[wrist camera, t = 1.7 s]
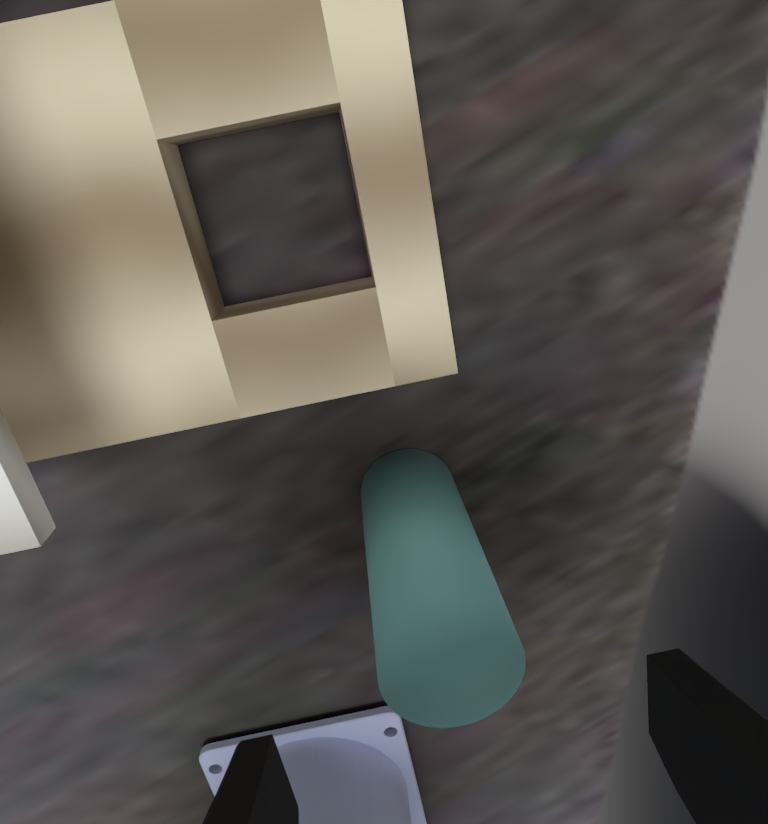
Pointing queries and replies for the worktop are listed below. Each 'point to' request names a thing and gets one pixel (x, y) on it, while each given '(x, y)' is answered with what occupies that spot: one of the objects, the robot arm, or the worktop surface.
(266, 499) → the worktop surface
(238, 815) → the robot arm
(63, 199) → the station
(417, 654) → the peg
